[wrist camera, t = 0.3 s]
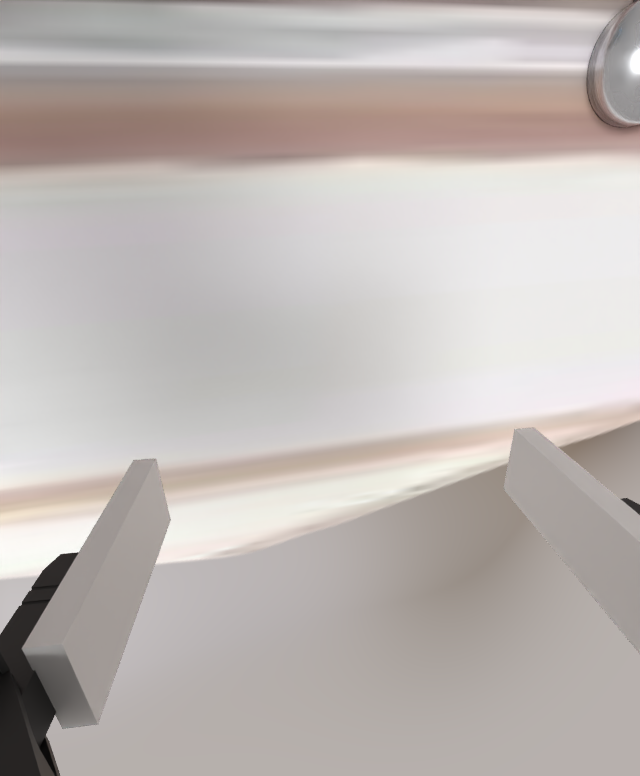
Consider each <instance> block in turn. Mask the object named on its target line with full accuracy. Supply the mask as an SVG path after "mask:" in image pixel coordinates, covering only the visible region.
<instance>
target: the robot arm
mask: <svg viewBox="0 0 640 776" xmlns="http://www.w3.org/2000/svg"><path fill="white" fill-rule="evenodd" d="M504 490H505V491H506V492H507V494H508V495H509V496H510V497H511V498H512V499H513V501H514V502H515V503H516V505H517V506H518V507H519V508H520V509H521V511H522V512H523V513H524V514H525V516H526V517H527V518H528V519H529V520H530V522H531V523H532V524H533V525H534V526H535V528H536V529H537V530H538V531H539V532H540V534H541V535H542V536H543V537H544V539H545V540H546V541H547V542H548V543H549V545H550V546H551V547H552V548H553V549H554V551H555V552H556V553H557V554H558V556H559V557H560V558H561V559H562V560H563V562H564V563H565V564H566V565H567V566H568V568H569V569H570V570H571V571H572V573H573V574H574V575H575V576H576V577H577V579H578V580H579V581H580V582H581V583H582V585H583V586H584V587H585V588H586V589H587V591H588V592H589V593H590V594H591V596H592V597H593V598H594V599H595V600H596V602H597V603H598V604H599V605H600V606H601V608H602V609H603V610H604V611H605V613H606V614H607V615H608V616H609V617H610V619H611V620H612V621H613V622H614V623H615V625H616V626H617V627H618V628H619V629H620V631H621V632H622V633H623V634H624V636H625V637H626V638H627V639H628V640H629V642H630V643H631V644H632V645H633V646H634V648H635V649H636V650H637V651H638V653H639V654H640V505H639V504H637V503H635V502H633V501H631V500H629V499H627V498H623V499H620V498H619V497H617V496H616V495H615V494H614V493H612V492H611V491H610V490H609V489H608V488H606V487H605V486H604V485H602V483H600V482H599V481H598V480H597V479H596V478H594V477H593V476H592V475H591V474H590V473H588V472H587V471H586V470H585V469H583V468H582V467H581V466H580V465H578V464H577V463H576V462H575V461H574V460H573V459H571V458H570V457H569V456H568V455H567V454H565V453H564V452H563V451H562V450H561V449H559V448H558V447H557V446H556V445H554V444H553V443H552V442H551V441H550V440H548V439H547V438H546V437H545V436H544V435H542V434H541V433H540V432H539V431H538V430H536V429H535V428H522V429H514V435H513V440H512V446H511V451H510V457H509V462H508V468H507V473H506V479H505V484H504ZM170 520H171V519H170V515H169V511H168V507H167V503H166V498H165V494H164V490H163V486H162V482H161V477H160V473H159V469H158V465H157V460H156V459H143V460H133V462H132V464H131V466H130V467H129V469H128V471H127V472H126V474H125V476H124V477H123V479H122V481H121V482H120V484H119V486H118V487H117V489H116V491H115V492H114V494H113V496H112V497H111V499H110V501H109V503H108V504H107V506H106V508H105V509H104V511H103V513H102V514H101V516H100V518H99V519H98V521H97V523H96V524H95V526H94V528H93V529H92V531H91V533H90V534H89V536H88V538H87V540H86V541H85V543H84V545H83V546H82V548H81V550H80V551H79V553H68V554H61V555H60V556H58V557H57V558H56V559H55V560H54V561H53V562H52V563H51V564H50V565H48V566H47V567H46V568H45V569H44V570H43V571H42V573H41V574H40V576H39V577H38V579H37V580H36V582H35V583H34V585H33V586H32V590H31V591H29V592H28V594H27V595H26V597H25V598H24V600H23V601H22V605H21V606H19V607H18V609H17V610H16V612H15V613H14V615H13V616H12V618H11V619H10V621H9V622H8V624H7V625H6V627H5V628H4V630H3V632H2V633H1V634H0V776H60V773H59V770H58V767H57V764H56V761H55V758H54V755H53V752H52V749H51V746H50V743H49V740H48V738H47V737H46V733H47V731H48V729H49V727H50V724H51V722H52V720H53V718H54V715H56V717H57V719H58V721H59V723H60V725H61V727H62V729H66V728H73V727H81V726H89V725H97V724H98V723H99V720H100V717H101V714H102V711H103V709H104V706H105V703H106V700H107V697H108V695H109V692H110V689H111V686H112V683H113V680H114V678H115V675H116V672H117V669H118V666H119V664H120V661H121V658H122V655H123V652H124V650H125V647H126V644H127V641H128V638H129V635H130V633H131V630H132V627H133V624H134V622H135V619H136V616H137V613H138V610H139V607H140V604H141V602H142V599H143V596H144V593H145V590H146V588H147V585H148V582H149V579H150V576H151V573H152V571H153V568H154V565H155V563H156V560H157V557H158V554H159V551H160V548H161V546H162V543H163V540H164V537H165V534H166V532H167V529H168V526H169V523H170Z"/></svg>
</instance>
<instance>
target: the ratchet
mask: <svg viewBox="0 0 640 776" xmlns="http://www.w3.org/2000/svg"><path fill="white" fill-rule="evenodd" d="M587 90H588V96H589V100H590V103H591V106H592V108H593V109H594V111H595V113H596V114H597V115H598V117H599V118H600V119H602V120H603V121H604V122H606V123H607V124H609V125H612V126H616V127H631V126H635V125H639V124H640V0H634V1H633V3H632V4H630V5H629V6H627V7H626V8H624V9H623V10H622V11H620V12H619V13H618V14H617V15H616V16H615V17H614V18H613V19H612V20H611V21H610V22H609V24H608V25H607V26H606V27H605V29H604V30H603V32H602V33H601V35H600V37H599V39H598V41H597V43H596V45H595V47H594V49H593V52H592V55H591V58H590V62H589V67H588V74H587Z"/></svg>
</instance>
